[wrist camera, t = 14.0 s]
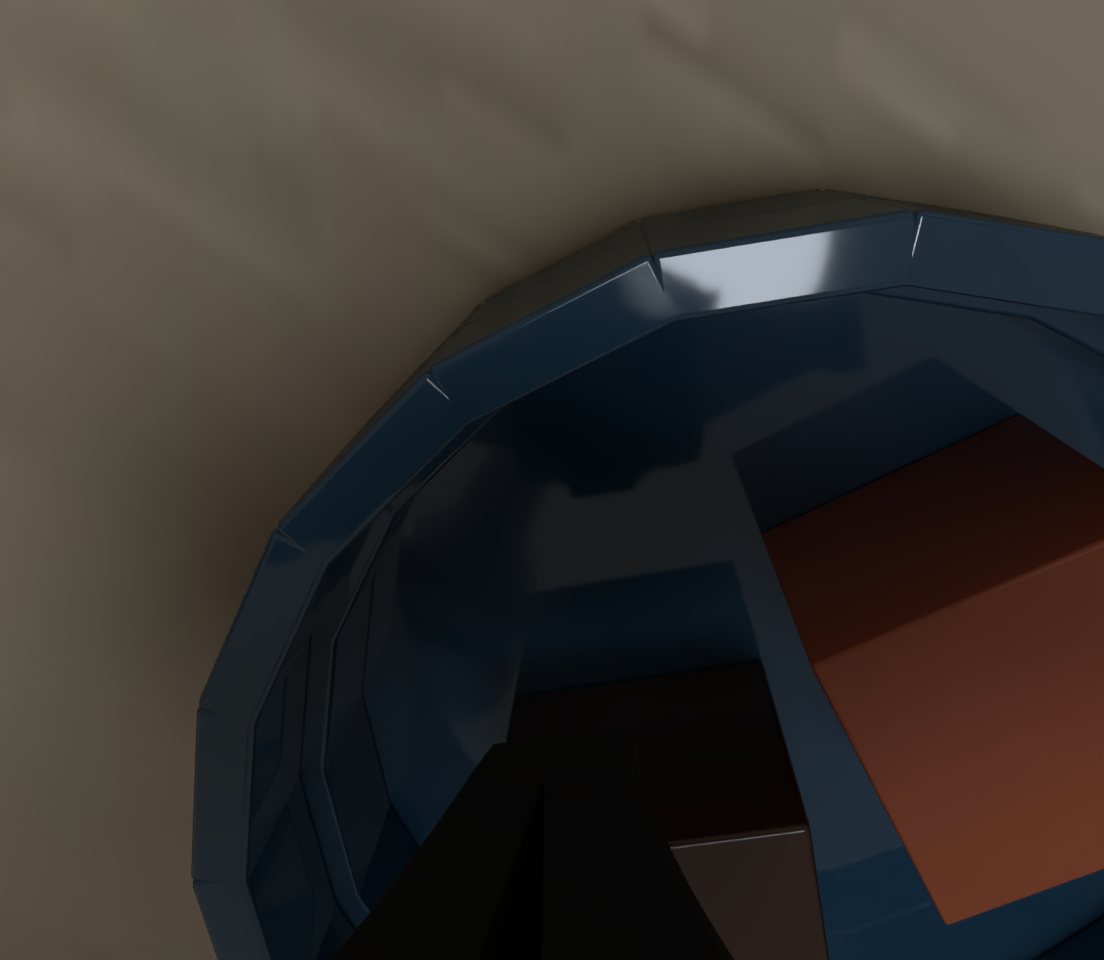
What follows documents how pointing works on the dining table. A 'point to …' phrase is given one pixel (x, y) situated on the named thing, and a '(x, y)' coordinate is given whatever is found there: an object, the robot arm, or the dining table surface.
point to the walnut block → (712, 796)
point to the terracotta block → (967, 656)
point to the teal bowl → (627, 543)
